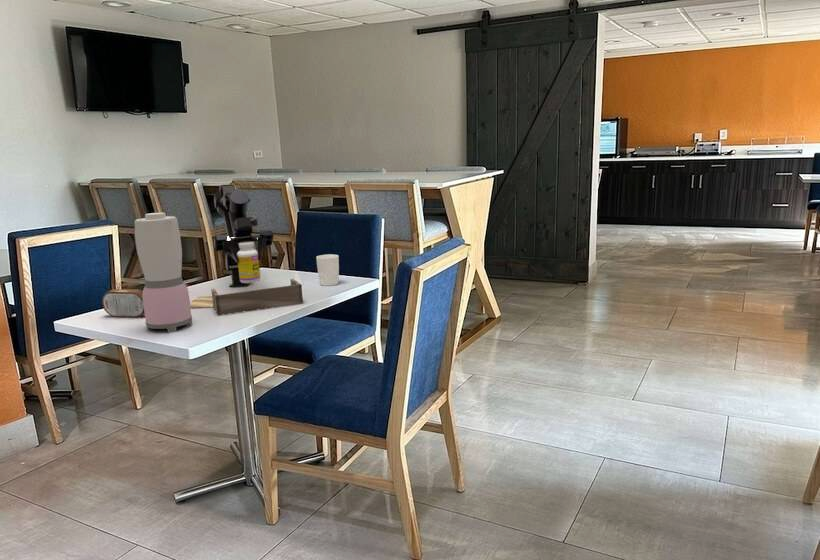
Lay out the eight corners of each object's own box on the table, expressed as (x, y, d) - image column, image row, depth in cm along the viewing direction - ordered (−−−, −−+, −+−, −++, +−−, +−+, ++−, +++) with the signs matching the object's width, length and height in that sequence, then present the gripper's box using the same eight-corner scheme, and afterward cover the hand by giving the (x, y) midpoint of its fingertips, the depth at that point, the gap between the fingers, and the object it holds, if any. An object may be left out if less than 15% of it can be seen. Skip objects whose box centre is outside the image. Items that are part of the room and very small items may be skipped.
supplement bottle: (255, 283, 200) (250, 244, 196) (236, 283, 201) (231, 244, 198) (264, 278, 206) (259, 240, 203) (246, 278, 207) (241, 241, 204)
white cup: (335, 286, 217) (333, 258, 215) (314, 286, 219) (312, 258, 217) (343, 281, 224) (341, 254, 222) (323, 281, 226) (321, 254, 224)
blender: (202, 323, 177) (189, 211, 171) (166, 335, 167) (151, 216, 160) (165, 317, 185) (151, 210, 178) (129, 328, 175) (113, 215, 168)
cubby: (213, 307, 195) (211, 289, 193) (294, 296, 205) (293, 278, 203) (217, 315, 185) (215, 296, 184) (303, 303, 195) (301, 284, 194)
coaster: (198, 297, 209) (198, 296, 209) (239, 296, 208) (239, 295, 208) (181, 308, 195) (181, 307, 195) (225, 307, 194) (225, 306, 194)
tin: (152, 315, 189) (149, 288, 187) (146, 318, 186) (142, 291, 184) (109, 314, 192) (105, 288, 190) (102, 317, 189) (98, 290, 187)
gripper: (211, 210, 197) (219, 250, 190) (269, 205, 205) (280, 243, 198) (210, 231, 206) (218, 269, 199) (266, 225, 214) (276, 263, 207)
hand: (248, 261), depth 200 cm, fingers closed on supplement bottle, 6 cm apart
